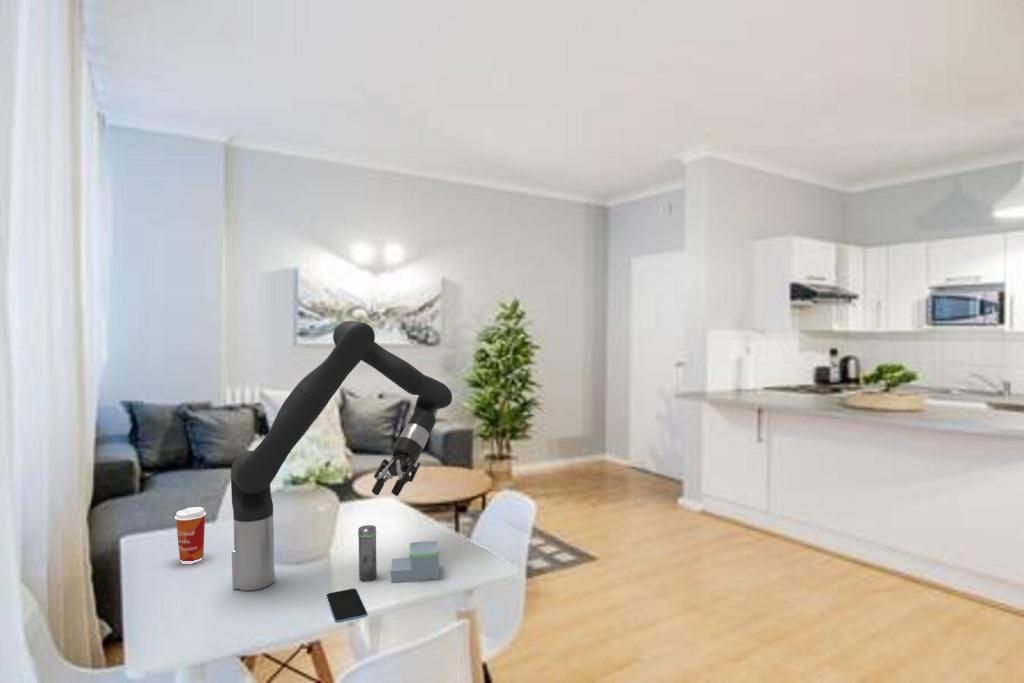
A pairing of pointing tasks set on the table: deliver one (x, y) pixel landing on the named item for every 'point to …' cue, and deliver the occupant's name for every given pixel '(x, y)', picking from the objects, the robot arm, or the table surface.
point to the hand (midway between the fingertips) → (384, 494)
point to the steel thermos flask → (367, 553)
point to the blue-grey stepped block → (417, 563)
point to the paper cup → (190, 533)
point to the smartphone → (346, 605)
